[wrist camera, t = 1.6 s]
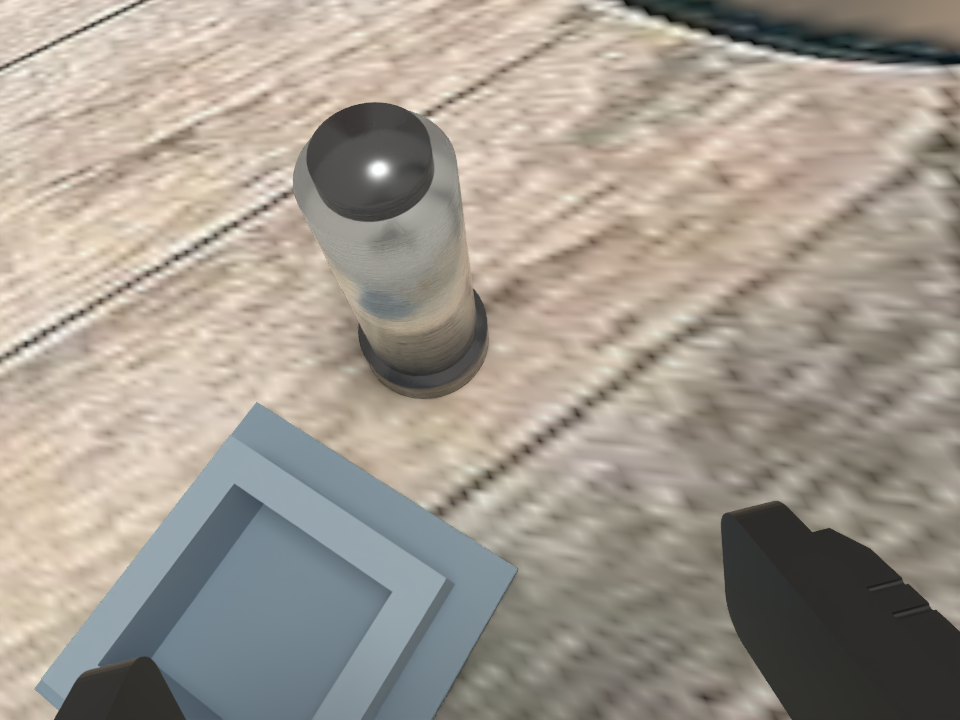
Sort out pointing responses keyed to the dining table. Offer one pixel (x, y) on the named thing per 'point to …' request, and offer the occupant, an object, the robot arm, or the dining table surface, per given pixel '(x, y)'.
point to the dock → (294, 592)
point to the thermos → (396, 244)
